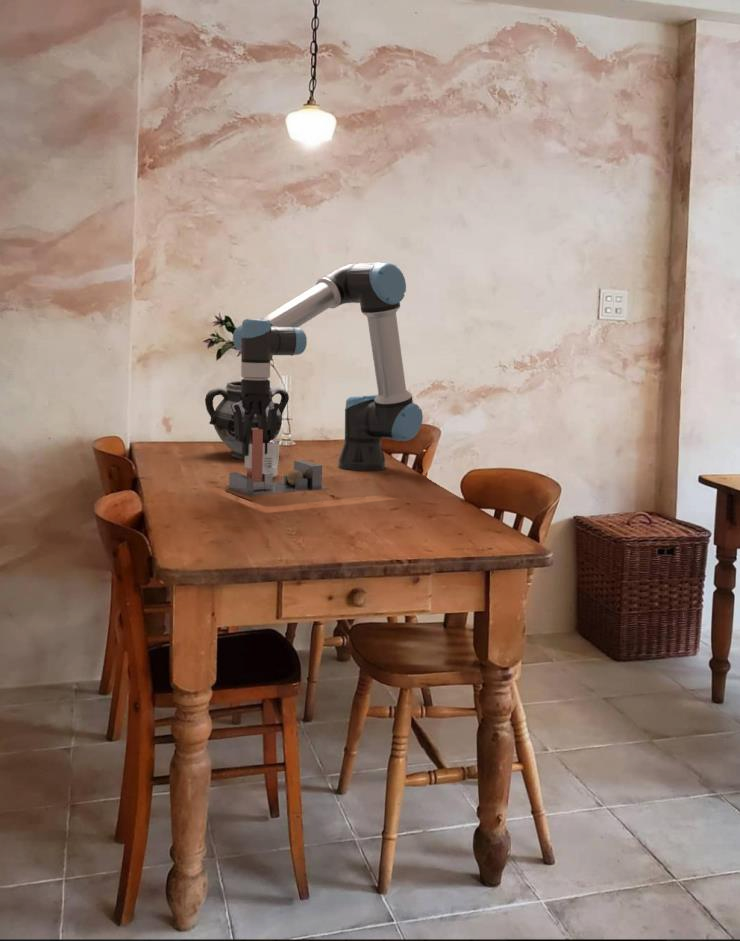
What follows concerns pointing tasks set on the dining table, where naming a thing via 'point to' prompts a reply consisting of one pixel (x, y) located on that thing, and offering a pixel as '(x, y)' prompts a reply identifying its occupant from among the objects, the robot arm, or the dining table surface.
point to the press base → (308, 482)
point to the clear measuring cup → (272, 457)
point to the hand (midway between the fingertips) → (254, 467)
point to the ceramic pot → (225, 418)
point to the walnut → (294, 476)
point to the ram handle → (258, 462)
